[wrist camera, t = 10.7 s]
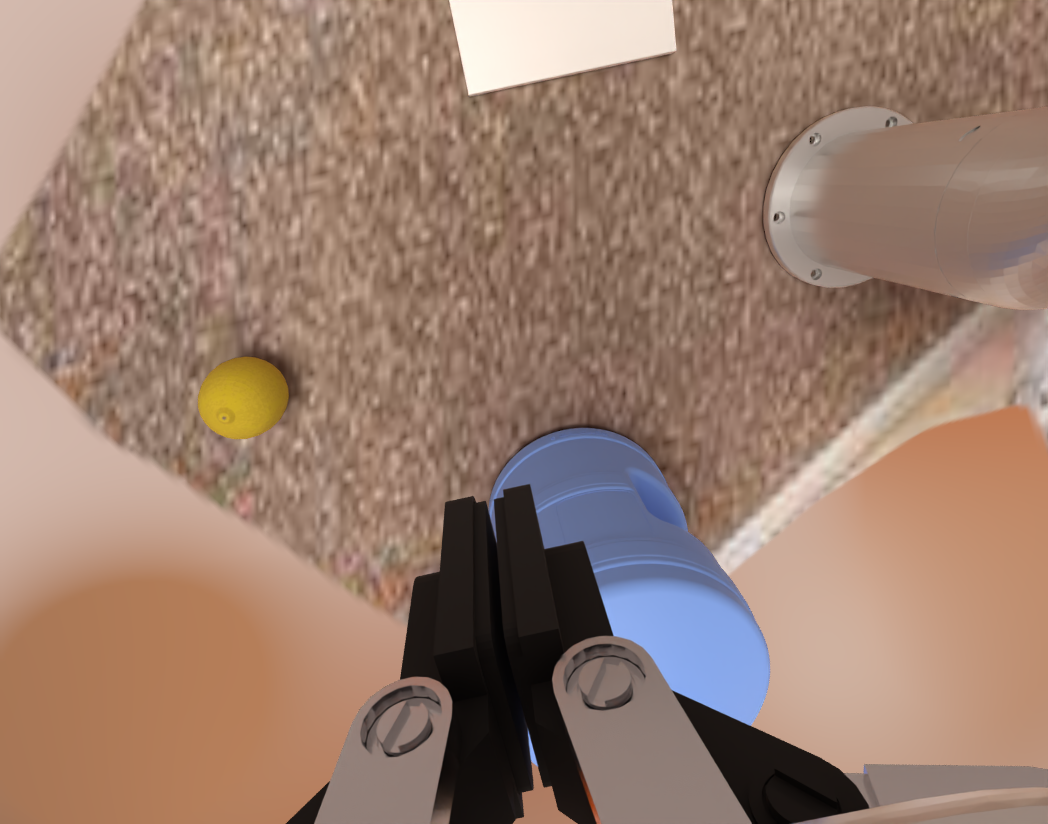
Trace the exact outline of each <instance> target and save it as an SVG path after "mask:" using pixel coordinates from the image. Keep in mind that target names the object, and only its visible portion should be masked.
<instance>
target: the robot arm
mask: <svg viewBox="0 0 1048 824" xmlns="http://www.w3.org/2000/svg"><path fill="white" fill-rule="evenodd" d="M885 124H886V126H885ZM810 137H811V143H810V142H809V140H810ZM775 214H776V219H775V220H774V215H775ZM763 224H764V229H765V235H766V240H767V242H768V245H769V247H770V250H771V252H772V254H773V255H774V257H775V258H776V260H777V261H778V263H779V264H780V265H781V266H782V267H783V268H784V269H785V270H786V271H787V272H788V273H789V274H790V275H792V276H794V277H796V278H797V279H799V280H801V281H803V282H806V283H809V284H812V285H815V286H821V287H826V288H843V287H848V286H852V285H857V284H860V283H862V282H865V281H867V280H870V279H872V278H877V279H882V280H886V281H890V282H894V283H898V284H903V285H907V286H911V287H915V288H919V289H924V290H928V291H932V292H936V293H940V294H945V295H949V296H953V297H957V298H961V299H966V300H970V301H974V302H979V303H984V304H988V305H992V306H997V307H1002V308H1009V309H1016V310H1039V309H1047V308H1048V106H1044V107H1039V108H1031V109H1024V110H1016V111H1008V112H1001V113H993V114H985V115H978V116H970V117H962V118H955V119H947V120H939V121H932V122H924V123H916V124H914V123H913V122H912V121H910V120H909V119H908V118H906V117H905V116H903V115H902V114H900V113H898V112H896V111H893V110H890V109H888V108H884V107H875V106H863V107H854V108H849V109H845V110H841V111H837V112H835V113H832V114H830V115H828V116H825V117H823V118H821V119H820V120H818V121H817V122H815V123H814V124H812V125H811V126H809V127H808V128H806V129H805V130H804V131H803V132H802V133H801V134H800V135H799V136H798V137H797V138H796V139H795V140H793V142H792V143H791V144H790V146H789V147H788V148H787V149H786V151H785V152H784V153H783V155H782V156H781V158H780V160H779V161H778V163H777V165H776V167H775V169H774V171H773V173H772V175H771V178H770V181H769V184H768V187H767V190H766V195H765V201H764V206H763ZM812 271H813V273H812V275H811V272H812ZM503 495H504V497H501V498H497V499H494V511H495V525H496V538H497V542H496V538H495V534H494V530H493V526H492V522H491V518H490V515H489V511H488V507H487V504H486V501H483V502H478V503H476V501H475V498H474V496H471V497H467V498H462V499H457V500H453V501H448V502H446V503H445V512H444V525H443V537H442V550H441V563H440V572H437V573H432V574H427V575H423V576H418V577H416V578H415V581H414V585H413V592H412V599H411V606H410V613H409V620H408V627H407V634H406V642H405V649H404V656H403V663H402V670H401V677H400V680H398V681H396V682H394V683H392V684H389V685H387V686H385V687H383V688H382V689H381V690H379V691H378V692H377V693H375V694H374V695H373V696H371V697H370V698H369V699H368V701H367V702H366V703H365V704H364V705H363V706H362V707H361V708H360V709H359V711H358V713H357V715H356V717H355V719H354V721H353V722H352V725H351V727H350V730H349V732H348V735H347V738H346V741H345V743H344V746H343V748H342V751H341V754H340V756H339V759H338V762H337V764H336V767H335V770H334V773H333V775H332V778H331V780H330V781H329V782H328V783H327V784H326V785H325V786H324V787H323V788H322V789H321V790H320V791H319V792H318V793H317V794H316V795H315V796H314V797H313V798H312V799H311V800H310V801H309V802H308V803H307V804H306V805H305V806H304V807H303V808H301V809H300V811H298V812H297V813H296V814H295V815H294V816H293V817H292V818H291V819H290V820H289V821H288V822H287V823H286V824H513V822H514V821H515V819H517V818H521V817H524V813H523V800H522V792H526V791H531V790H533V775H532V765H531V756H530V746H529V737H528V732H529V735H530V739H531V743H532V746H533V750H534V754H535V757H536V761H537V765H538V769H539V772H540V776H541V780H542V783H543V786H544V787H549V786H552V788H553V791H554V795H555V799H556V803H557V807H558V810H559V811H560V812H562V813H563V814H565V815H566V816H568V817H569V818H570V819H572V820H573V821H575V822H576V823H578V824H1048V769H1042V768H1036V767H1029V766H958V765H956V766H955V765H954V766H953V765H878V764H865V765H864V774H859V773H857V774H856V773H843V772H842V771H841V770H840V769H838V768H836V767H835V766H833V765H831V764H830V763H828V762H826V761H825V760H823V759H821V758H820V757H818V756H815V755H813V754H811V753H809V752H807V751H804V750H802V749H800V748H798V747H796V746H793V745H791V744H789V743H787V742H785V741H782V740H780V739H778V738H776V737H774V736H772V735H769V734H767V733H765V732H763V731H760V730H758V729H756V728H754V727H752V726H750V725H747V724H745V723H743V722H741V721H739V720H736V719H734V718H732V717H730V716H728V715H726V714H723V713H721V712H719V711H717V710H715V709H712V708H710V707H708V706H706V705H704V704H701V703H699V702H697V701H695V700H693V699H690V698H688V697H686V696H684V695H682V694H679V693H677V692H675V691H673V690H671V688H670V687H669V685H668V683H667V682H666V680H665V679H664V677H663V675H662V674H661V672H660V670H659V669H658V667H657V665H656V664H655V662H654V660H653V659H652V657H651V656H650V655H649V654H648V653H647V651H646V650H645V649H644V648H643V647H641V646H640V645H638V644H636V643H635V642H633V641H631V640H628V639H625V638H621V637H617V636H614V635H613V632H612V629H611V626H610V623H609V619H608V616H607V613H606V610H605V607H604V604H603V600H602V597H601V594H600V591H599V588H598V585H597V581H596V578H595V575H594V572H593V569H592V566H591V562H590V559H589V556H588V553H587V550H586V547H585V544H584V541H579V542H575V543H570V544H566V545H561V546H556V547H552V548H547V549H544V545H543V540H542V536H541V531H540V527H539V522H538V517H537V513H536V508H535V504H534V499H533V495H532V490H531V486H530V484H527V485H522V486H517V487H513V488H508V489H504V490H503Z"/></svg>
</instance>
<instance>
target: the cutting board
mask: <svg viewBox="0 0 1048 824" xmlns="http://www.w3.org/2000/svg"><path fill="white" fill-rule="evenodd" d="M449 3H450V8H451V13H452V18H453V22H454V27H455V32H456V37H457V42H458V47H459V51H460V56H461V61H462V66H463V71H464V76H465V80H466V85H467V90H468V95H469V97H471V96H475V95H480V94H485V93H489V92H494V91H499V90H503V89H508V88H513V87H518V86H522V85H527V84H532V83H536V82H541V81H546V80H550V79H555V78H560V77H564V76H569V75H574V74H578V73H583V72H588V71H593V70H597V69H602V68H607V67H611V66H616V65H621V64H625V63H630V62H635V61H639V60H644V59H649V58H654V57H658V56H663V55H668V54H672V53H673V52H675V51H676V41H675V29H674V17H673V6H672V0H449Z"/></svg>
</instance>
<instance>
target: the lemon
mask: <svg viewBox="0 0 1048 824" xmlns="http://www.w3.org/2000/svg"><path fill="white" fill-rule="evenodd" d="M288 398H289V394H288V386H287V383H286V381H285V378H284V377H283V375H282V374H281V372H280V371H279V370H278V369H277V368H276V367H275V366H274V365H272V364H270V363H269V362H267V361H265V360H262V359H259V358H255V357H240V358H234V359H231V360H228V361H226V362H224V363H221V364H220V365H219V366H217V367H216V368H215V369H214V370H212V371H211V372H210V373H209V375H208V376H207V377H206V379H205V380H204V382H203V384H202V386H201V389H200V392H199V395H198V408H199V412H200V415H201V417H202V419H203V420H204V422H205V423H206V425H207V426H208V427H209V428H210V429H211V430H213V431H214V432H216V433H217V434H219V435H222V436H224V437H227V438H232V439H247V438H251V437H255V436H258V435H260V434H262V433H264V432H266V431H267V430H269V429H271V428H272V427H273V426H274V425H275V424H276V423H277V422H278V421H279V420H280V419H281V417H282V415H283V413H284V412H285V410H286V407H287V403H288Z"/></svg>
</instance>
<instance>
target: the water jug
mask: <svg viewBox="0 0 1048 824" xmlns="http://www.w3.org/2000/svg"><path fill="white" fill-rule="evenodd" d="M527 484H530V486H531V490H532V495H533V499H534V504H535V508H536V513H537V517H538V522H539V527H540V531H541V536H542V540H543V545H544V549H547V548H552V547H556V546H561V545H566V544H570V543H575V542H579V541H584V544H585V547H586V550H587V553H588V556H589V559H590V562H591V566H592V569H593V572H594V575H595V578H596V581H597V585H598V588H599V591H600V594H601V597H602V600H603V604H604V607H605V610H606V613H607V616H608V619H609V623H610V626H611V629H612V632H613V635H614V636H617V637H621V638H625V639H628V640H631V641H633V642H635V643H636V644H638V645H640V646H641V647H643V648H644V649H645V650H646V651H647V653H648V654H649V655H650V656H651V657H652V659H653V660H654V662H655V664H656V665H657V667H658V669H659V670H660V672H661V674H662V675H663V677H664V679H665V680H666V682H667V683H668V685H669V687H670V688H671V690H673V691H675V692H677V693H679V694H682V695H684V696H686V697H688V698H690V699H693V700H695V701H697V702H699V703H701V704H704V705H706V706H708V707H710V708H712V709H715V710H717V711H719V712H721V713H723V714H726V715H728V716H730V717H732V718H734V719H736V720H739V721H741V722H743V723H745V724H747V725H750V726H751V725H752V723H753V722H754V720H755V719H756V717H757V715H758V713H759V711H760V709H761V707H762V705H763V702H764V700H765V697H766V693H767V690H768V685H769V678H770V659H769V654H768V648H767V645H766V642H765V639H764V636H763V634H762V632H761V630H760V628H759V626H758V624H757V623H756V621H755V619H754V616H753V614H752V612H751V610H750V608H749V606H748V604H747V603H746V601H745V599H744V598H743V596H742V595H741V593H740V592H739V590H738V589H737V587H736V586H735V584H734V583H733V581H732V580H731V579H730V577H729V576H728V575H727V574H726V573H725V571H724V570H723V569H722V568H721V567H720V565H719V564H718V562H717V561H716V559H715V558H714V556H713V555H712V553H711V552H710V551H709V550H708V548H707V547H706V546H705V545H704V544H703V543H702V542H701V541H699V540H698V539H697V538H696V537H694V536H693V535H692V534H690V533H689V532H688V528H687V523H686V519H685V516H684V513H683V511H682V508H681V506H680V504H679V502H678V501H677V499H676V498H675V496H674V494H673V493H672V491H671V490H670V488H669V487H668V485H667V482H666V480H665V478H664V476H663V474H662V473H661V471H660V470H659V468H658V466H657V465H656V463H655V462H654V461H653V459H652V458H651V457H650V456H649V455H648V453H647V452H646V451H644V450H643V449H642V448H641V447H640V446H639V445H637V444H636V443H634V442H633V441H631V440H629V439H628V438H626V437H624V436H621V435H619V434H616V433H614V432H610V431H607V430H602V429H595V428H573V429H566V430H561V431H557V432H554V433H551V434H548V435H546V436H543V437H541V438H539V439H537V440H535V441H533V442H532V443H530V444H529V445H527V446H526V447H524V448H523V449H522V450H520V451H519V452H518V453H517V454H516V455H515V456H514V457H513V458H512V459H511V460H510V461H509V462H508V463H507V465H506V466H505V467H504V469H503V470H502V471H501V473H500V475H499V476H498V478H497V480H496V482H495V485H494V487H493V490H492V493H491V497H490V502H489V515H490V518H491V522H492V526H493V530H494V534H495V538H496V525H495V511H494V499H497V498H501V497H504V495H503V490H504V489H508V488H513V487H517V486H522V485H527ZM496 542H497V538H496ZM528 737H529V746H530V756H531V761H532V762H533V763H534V764H536V766H538V765H537V761H536V757H535V754H534V750H533V746H532V743H531V739H530V735H529V732H528Z"/></svg>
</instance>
